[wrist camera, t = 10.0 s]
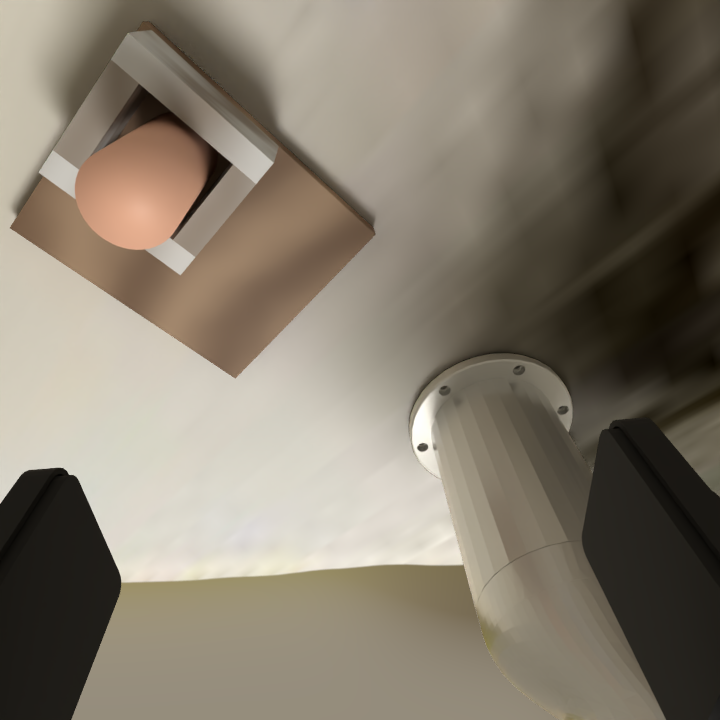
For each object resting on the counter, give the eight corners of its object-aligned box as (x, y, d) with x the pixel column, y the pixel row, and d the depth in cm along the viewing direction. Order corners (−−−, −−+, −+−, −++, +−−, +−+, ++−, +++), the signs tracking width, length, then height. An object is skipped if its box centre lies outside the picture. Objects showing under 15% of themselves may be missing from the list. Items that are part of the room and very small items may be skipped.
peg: (231, 146, 30) (201, 195, 22) (191, 202, 32) (148, 268, 23) (167, 94, 29) (106, 123, 20) (128, 155, 30) (56, 207, 22)
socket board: (373, 228, 34) (381, 259, 30) (237, 369, 39) (227, 413, 35) (149, 21, 28) (117, 23, 24) (19, 221, 33) (-27, 253, 28)
